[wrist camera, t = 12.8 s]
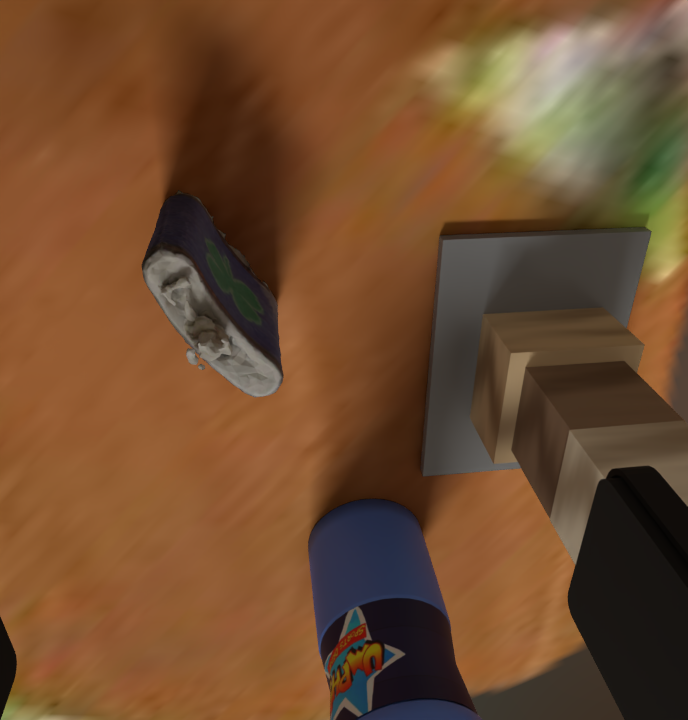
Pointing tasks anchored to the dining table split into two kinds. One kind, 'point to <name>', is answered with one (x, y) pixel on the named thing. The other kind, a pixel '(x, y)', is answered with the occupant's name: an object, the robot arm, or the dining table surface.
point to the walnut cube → (576, 414)
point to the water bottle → (382, 618)
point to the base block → (537, 361)
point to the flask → (213, 297)
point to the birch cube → (609, 451)
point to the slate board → (506, 295)
